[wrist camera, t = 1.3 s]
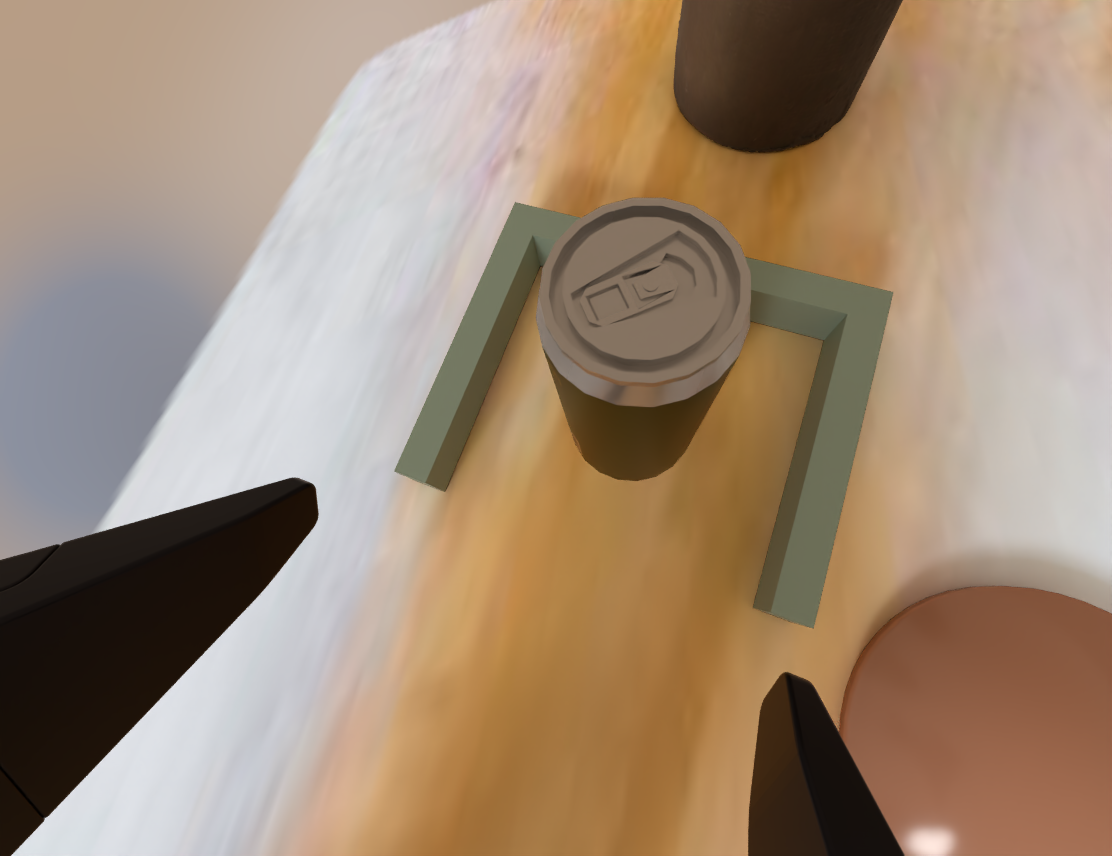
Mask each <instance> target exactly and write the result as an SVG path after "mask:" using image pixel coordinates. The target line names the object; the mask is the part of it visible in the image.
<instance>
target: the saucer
mask: <svg viewBox="0 0 1112 856" xmlns="http://www.w3.org/2000/svg"><path fill="white" fill-rule="evenodd" d="M839 734H840V736H841V737H842V739H843V741H844V743H845V745H846V747H847V749H848V750H849V752H850V754H851V756H852V758H853V760H854V762H855V763H856V765H857V767H858V769H859V771H860V773H861V775H862V776H863V778H864V780H865V782H866V784H867V786H868V788H869V789H870V791H871V793H872V795H873V797H874V799H875V801H876V802H877V804H878V806H879V808H880V810H881V812H882V814H883V815H884V817H885V819H886V821H887V823H888V825H889V827H890V829H891V830H892V832H893V834H894V836H895V838H896V840H897V842H898V843H899V845H900V847H901V849H902V851H903V853H904V855H905V856H1112V614H1111V613H1109V612H1107V611H1104V610H1102V609H1100V608H1098V607H1095V606H1093V605H1091V604H1088V603H1086V602H1083V601H1080V600H1077V599H1074V598H1071V597H1068V596H1064V595H1061V594H1058V593H1053V592H1048V591H1043V590H1038V589H1032V588H1020V587H1007V586H980V587H967V588H961V589H955V590H950V591H946V592H943V593H940V594H937V595H934V596H931V597H927V598H925V599H923V600H921V601H919V602H917V603H915V604H913V605H911V606H909V607H907V608H906V609H905V610H903V611H902V612H900V613H899V614H898V615H896V616H895V617H893V618H892V619H891V620H890V621H889V622H888V623H887V624H885V625H884V626H883V627H882V628H881V629H880V630H879V631H878V632H877V633H876V634H875V636H874V637H873V638H872V640H871V641H870V642H869V644H868V645H867V646H866V648H865V649H864V650H863V652H862V654H861V656H860V658H859V659H858V661H857V663H856V665H855V667H854V669H853V671H852V674H851V676H850V679H849V682H848V685H847V688H846V691H845V695H844V700H843V704H842V709H841V714H840V728H839Z"/></svg>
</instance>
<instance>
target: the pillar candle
mask: <svg viewBox="0 0 1112 856" xmlns="http://www.w3.org/2000/svg"><path fill="white" fill-rule="evenodd" d="M902 1H903V0H683V1H682V9H681V18H680V21H679V28H678V39H677V45H676V55H675V70H674V93H675V98H676V101H677V104H678V107H679V109H680V111H681V113H682V114H683V115H684V117H685V118H686V119H687V120H688V121H689V122H690V123H691V124H692V125H693V126H694V127H695V128H696V129H697V130H699V131H700V132H701V133H703V134H704V135H706V136H707V137H708V138H709V139H711V140H713V141H714V142H717V143H719V144H721V145H723V146H726V147H728V146H729V147H731V148H733V149H737V150H745V151H749V152H755V151H758V152H770V151H781V150H785V149H788V148H791V147H795V146H799V145H804V144H807V143H809V142H812V141H814V140H817V139H819V138H820V137H822V136H823V135H824V133H825V132H827V131H828V130H829V129H831V127H832V126H833V125H834V124H836V123H838V122H839V121H840V120H841V119H842V118H843V117H844V116H845V114H846V113H847V111H848V109H849V108H850V106H851V104H852V102H853V100H854V98H855V96H856V94H857V92H858V90H859V88H860V86H861V84H862V82H863V80H864V78H865V76H866V74H867V72H868V70H869V68H870V66H871V63H872V62H873V60H874V58H875V56H876V54H877V52H878V50H879V48H880V46H881V44H882V42H883V40H884V38H885V36H886V34H887V32H888V29H889V27H890V25H891V23H892V21H893V19H894V17H895V15H896V13H897V11H898V9H899V6H900V5H901V3H902Z"/></svg>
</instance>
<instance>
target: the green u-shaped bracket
mask: <svg viewBox="0 0 1112 856" xmlns="http://www.w3.org/2000/svg"><path fill="white" fill-rule="evenodd" d="M579 219H580V218H579V217H575V216H571V215H567V214H562V213H558V212H554V211H550V210H546V209H541V208H537V207H533V206H529V205H525V204H520V203H516V202H515V204H514V206H513V208H512V210H511V213H510V215H509V217H508V219H507V222H506V224H505V226H504V228H503V230H502V233H501V235H500V237H499V239H498V242H497V244H496V246H495V248H494V250H493V253H492V255H491V257H490V259H489V262H488V264H487V266H486V268H485V270H484V273H483V275H482V277H481V279H480V282H479V284H478V286H477V288H476V290H475V293H474V295H473V297H472V299H471V302H470V304H469V306H468V308H467V310H466V313H465V315H464V317H463V319H462V322H461V324H460V326H459V328H458V331H457V333H456V335H455V337H454V339H453V342H452V344H451V346H450V348H449V351H448V353H447V355H446V357H445V359H444V362H443V364H442V366H441V368H440V371H439V373H438V375H437V377H436V379H435V382H434V384H433V386H432V388H431V391H430V393H429V395H428V397H427V399H426V402H425V404H424V406H423V408H422V411H421V413H420V415H419V417H418V419H417V422H416V424H415V426H414V428H413V431H412V433H411V435H410V437H409V439H408V442H407V444H406V446H405V448H404V451H403V453H402V455H401V457H400V459H399V462H398V464H397V466H396V468H395V472H397V473H399V474H401V475H404V476H406V477H408V478H410V479H413V480H415V481H417V482H420V483H422V484H425V485H428V486H430V487H433V488H436V489H438V490H441V491H444V492H445V490H446V488H447V486H448V483H449V481H450V479H451V476H452V474H453V472H454V469H455V467H456V464H457V462H458V460H459V457H460V455H461V453H462V450H463V448H464V445H465V443H466V441H467V438H468V436H469V434H470V431H471V429H472V427H473V424H474V422H475V419H476V417H477V415H478V412H479V410H480V408H481V405H482V403H483V400H484V398H485V396H486V393H487V391H488V389H489V386H490V384H491V381H492V379H493V377H494V374H495V372H496V370H497V367H498V365H499V363H500V360H501V358H502V355H503V353H504V351H505V348H506V346H507V344H508V341H509V339H510V336H511V334H512V332H513V329H514V327H515V325H516V322H517V320H518V318H519V315H520V313H521V310H522V308H523V306H524V303H525V301H526V299H527V296H528V294H529V291H530V289H531V287H532V284H533V282H534V280H535V277H536V275H537V273H538V270H539V268H540V266H544V264H545V262H546V260H547V258H548V256H549V254H550V252H551V250H552V248H553V246H554V244H555V242H556V241H557V240H558V239H559V238H560V237H561V236H562V235H563V234H564V233H565V232H566V231H567V230H568V229H569V228H570V227H571V225H572V224H573V223H574V222H575V221H577V220H579ZM745 259H746V261H747V264H748V267H749V269H750V272H751V304H750V321H752V322H756V323H760V324H764V325H768V326H771V327H775V328H779V329H783V330H787V331H790V332H794V333H798V334H802V335H806V336H809V337H813V338H817V339H821V340H824V342H823V346H822V349H821V353H820V357H819V361H818V365H817V368H816V372H815V376H814V380H813V383H812V387H811V391H810V395H809V398H808V402H807V406H806V410H805V413H804V417H803V421H802V425H801V428H800V432H799V436H798V440H797V443H796V447H795V451H794V455H793V458H792V462H791V466H790V470H789V474H788V477H787V481H786V485H785V489H784V492H783V496H782V500H781V504H780V507H779V511H778V515H777V519H776V522H775V526H774V530H773V534H772V537H771V541H770V545H769V549H768V552H767V556H766V560H765V564H764V567H763V571H762V575H761V579H760V583H759V586H758V590H757V594H756V598H755V601H754V605H753V608H755V609H758V610H760V611H763V612H766V613H768V614H771V615H773V616H776V617H779V618H781V619H784V620H787V621H789V622H793V623H796V624H799V625H803V626H806V627H810V628H813V629H814V625H815V620H816V616H817V612H818V608H819V604H820V599H821V595H822V591H823V587H824V583H825V578H826V574H827V570H828V566H829V561H830V557H831V553H832V549H833V545H834V540H835V536H836V532H837V528H838V524H839V519H840V515H841V511H842V507H843V502H844V498H845V494H846V490H847V486H848V481H849V477H850V473H851V469H852V465H853V460H854V456H855V452H856V448H857V443H858V439H859V435H860V431H861V427H862V422H863V418H864V414H865V410H866V406H867V401H868V397H869V393H870V389H871V384H872V380H873V376H874V372H875V368H876V363H877V359H878V355H879V351H880V347H881V342H882V338H883V334H884V330H885V325H886V321H887V317H888V313H889V309H890V304H891V300H892V296H893V292H890V291H886V290H882V289H878V288H874V287H869V286H865V285H861V284H857V283H853V282H848V281H844V280H840V279H836V278H832V277H827V276H823V275H819V274H815V273H811V272H806V271H802V270H798V269H794V268H790V267H785V266H781V265H777V264H773V263H769V262H764V261H760V260H756V259H752V258H747V257H745Z"/></svg>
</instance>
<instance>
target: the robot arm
mask: <svg viewBox="0 0 1112 856" xmlns="http://www.w3.org/2000/svg"><path fill="white" fill-rule="evenodd" d="M318 515H319V513H318V504H317V495H316V488H315V486H314V485H313V484H312V483H310V482H307V481H305V480H302V479H300V478H289V479H285V480H282V481H278V482H275V483H271V484H267V485H264V486H260V487H257V488H253V489H250V490H246V491H243V492H239V493H236V494H232V495H229V496H225V497H222V498H218V499H215V500H211V501H208V502H204V503H201V504H197V505H194V506H190V507H187V508H183V509H180V510H176V511H173V512H169V513H166V514H162V515H159V516H155V517H151V518H148V519H144V520H141V521H137V522H134V523H130V524H127V525H123V526H120V527H116V528H113V529H109V530H106V531H102V532H99V533H95V534H92V535H88V536H85V537H81V538H78V539H74V540H70V541H67V542H64V543H62V544H61V545H59V544H56V545H53V546H49V547H46V548H42V549H39V550H35V551H32V552H28V553H24V554H21V555H17V556H13V557H10V558H6V559H2V560H0V856H11V855H12V854H13V853H14V852H15V851H16V850H17V849H18V848H19V847H20V846H21V845H22V844H23V843H24V842H25V840H26V839H27V838H28V837H29V836H30V835H31V834H32V833H33V832H34V831H35V830H36V829H37V828H38V827H39V826H40V825H41V824H42V823H43V822H44V820H45V818H46V817H48V816H49V815H50V814H51V813H52V812H53V811H54V810H55V809H56V808H57V806H58V805H59V804H60V803H61V802H62V801H63V800H64V799H65V798H66V797H67V796H68V795H69V794H70V793H71V792H72V791H73V790H74V789H75V788H76V787H77V786H78V784H79V783H80V782H81V781H82V780H83V779H84V778H85V777H86V776H87V775H88V774H89V773H90V772H91V771H92V770H93V769H94V768H95V767H96V766H97V765H98V764H99V762H100V761H101V760H102V759H103V758H104V757H105V756H106V755H107V754H108V753H109V752H110V751H111V750H112V749H113V748H114V747H115V746H116V745H117V744H118V743H119V742H120V740H121V739H122V738H123V737H124V736H125V735H126V734H127V733H128V732H129V731H130V730H131V729H132V728H133V727H134V726H135V725H136V724H137V723H138V722H139V721H140V720H141V718H142V717H143V716H144V715H145V714H146V713H147V712H148V711H149V710H150V709H151V708H152V707H153V706H154V705H155V704H156V703H157V702H158V701H159V700H160V699H161V698H162V696H163V695H164V694H165V693H166V692H167V691H168V690H169V689H170V688H171V687H172V686H173V685H174V684H175V683H176V682H177V681H178V680H179V679H180V678H181V677H182V676H183V674H184V673H185V672H186V671H187V670H188V669H189V668H190V667H191V666H192V665H193V664H194V663H195V662H196V661H197V660H198V659H199V658H200V657H201V656H202V655H203V654H204V652H205V651H206V650H207V649H208V648H209V647H210V646H211V645H212V644H213V643H214V642H215V641H216V640H217V639H218V638H219V637H220V636H221V635H222V634H223V633H224V632H225V630H226V629H227V628H228V627H229V626H230V625H231V624H232V623H233V622H234V621H235V620H236V619H237V618H238V617H239V616H240V615H241V614H242V613H243V612H244V611H245V610H246V608H247V607H248V606H249V605H250V604H251V603H252V602H253V601H254V600H255V599H256V598H257V597H258V596H259V595H260V594H261V592H262V591H263V590H264V589H265V588H266V587H267V586H268V584H269V583H270V582H271V581H272V580H273V578H274V577H275V576H276V575H277V573H278V572H279V571H280V570H281V568H282V567H283V566H284V564H285V563H286V562H287V561H288V559H289V558H290V557H291V556H292V554H293V553H294V552H295V550H296V549H297V548H298V547H299V545H300V544H301V543H302V542H303V540H304V539H305V538H306V537H307V535H308V534H309V533H310V531H311V530H312V529H313V528H314V526H315V524H316V523H317V520H318ZM748 856H905V855H904V853H903V851H902V849H901V847H900V845H899V843H898V842H897V840H896V838H895V836H894V834H893V832H892V830H891V829H890V827H889V825H888V823H887V821H886V819H885V817H884V815H883V814H882V812H881V810H880V808H879V806H878V804H877V802H876V801H875V799H874V797H873V795H872V793H871V791H870V789H869V788H868V786H867V784H866V782H865V780H864V778H863V776H862V775H861V773H860V771H859V769H858V767H857V765H856V763H855V762H854V760H853V758H852V756H851V754H850V752H849V750H848V749H847V747H846V745H845V743H844V741H843V739H842V737H841V736H840V734H839V732H838V730H837V728H836V726H835V724H834V723H833V721H832V719H831V717H830V715H829V713H828V711H827V709H826V708H825V706H824V704H823V702H822V700H821V698H820V696H819V695H818V693H817V691H816V689H815V687H814V686H813V685H812V683H811V682H809V681H808V680H806V679H804V678H801V677H798V676H796V675H793V674H791V673H788V672H785V673H783V674H781V675H780V676H779V678H778V679H777V681H776V682H775V684H774V685H773V687H772V688H771V690H770V691H769V692H768V694H767V695H766V697H765V698H764V700H763V703H762V706H761V710H760V716H759V725H758V734H757V743H756V751H755V760H754V769H753V777H752V786H751V795H750V806H749V826H748Z"/></svg>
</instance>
